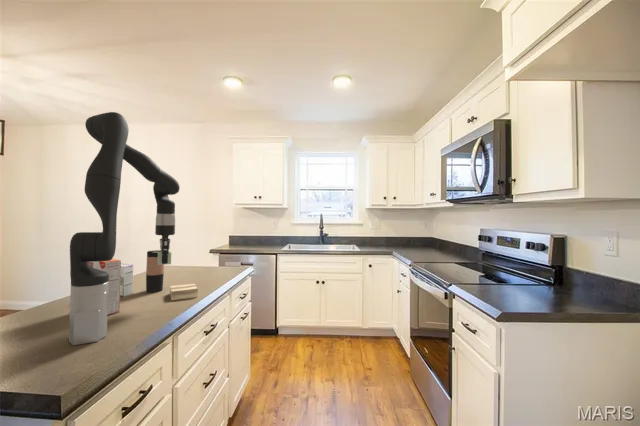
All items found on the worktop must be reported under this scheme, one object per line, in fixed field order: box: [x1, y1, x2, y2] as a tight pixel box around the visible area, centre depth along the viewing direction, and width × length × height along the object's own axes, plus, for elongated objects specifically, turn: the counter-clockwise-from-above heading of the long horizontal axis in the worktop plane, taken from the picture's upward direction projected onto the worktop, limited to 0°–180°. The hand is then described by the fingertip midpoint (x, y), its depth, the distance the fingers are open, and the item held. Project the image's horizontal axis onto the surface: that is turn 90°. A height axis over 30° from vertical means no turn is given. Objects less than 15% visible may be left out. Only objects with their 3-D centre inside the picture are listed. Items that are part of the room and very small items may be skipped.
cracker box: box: [88, 258, 122, 316], centre depth 110 cm, size 14×6×21 cm, turn 62°
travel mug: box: [145, 249, 165, 294], centre depth 140 cm, size 8×8×20 cm
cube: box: [158, 250, 172, 266], centre depth 122 cm, size 5×5×5 cm
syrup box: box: [120, 263, 134, 297], centre depth 132 cm, size 6×6×14 cm
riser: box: [169, 283, 199, 301], centre depth 133 cm, size 11×11×4 cm
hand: (164, 262), depth 122 cm, fingers closed on cube, 5 cm apart
